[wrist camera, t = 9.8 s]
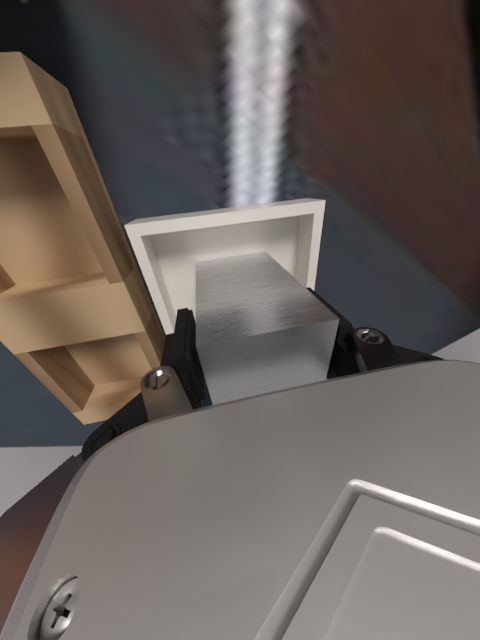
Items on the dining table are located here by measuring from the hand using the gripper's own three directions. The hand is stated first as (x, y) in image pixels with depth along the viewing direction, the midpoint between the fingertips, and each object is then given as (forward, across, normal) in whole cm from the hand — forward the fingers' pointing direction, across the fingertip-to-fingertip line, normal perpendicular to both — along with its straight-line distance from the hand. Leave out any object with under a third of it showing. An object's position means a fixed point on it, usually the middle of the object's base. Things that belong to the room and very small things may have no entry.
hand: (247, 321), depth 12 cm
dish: (+5, 0, 0) cm, 5 cm away
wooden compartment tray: (+5, +10, -1) cm, 12 cm away
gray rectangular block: (+5, 0, 0) cm, 5 cm away
